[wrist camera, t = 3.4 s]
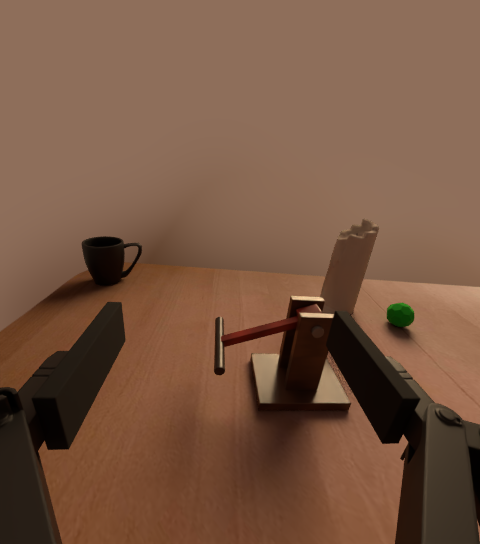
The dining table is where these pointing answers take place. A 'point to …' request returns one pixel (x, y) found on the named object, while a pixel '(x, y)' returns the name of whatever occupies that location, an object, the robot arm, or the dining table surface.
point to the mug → (107, 259)
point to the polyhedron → (400, 314)
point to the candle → (348, 267)
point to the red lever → (251, 334)
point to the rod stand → (300, 366)
